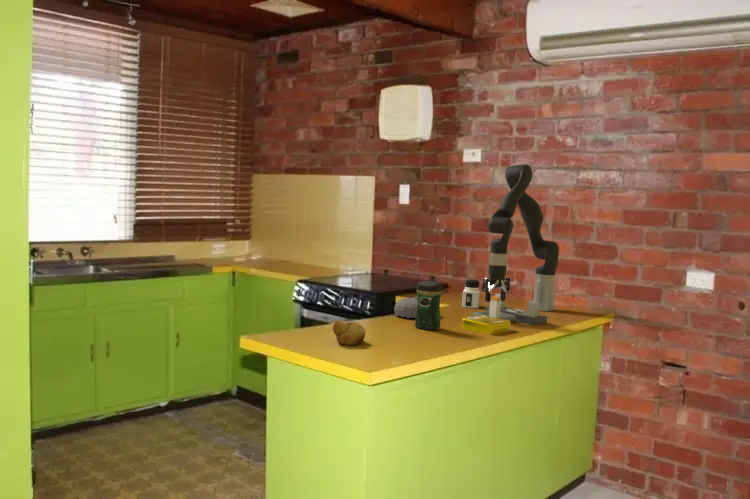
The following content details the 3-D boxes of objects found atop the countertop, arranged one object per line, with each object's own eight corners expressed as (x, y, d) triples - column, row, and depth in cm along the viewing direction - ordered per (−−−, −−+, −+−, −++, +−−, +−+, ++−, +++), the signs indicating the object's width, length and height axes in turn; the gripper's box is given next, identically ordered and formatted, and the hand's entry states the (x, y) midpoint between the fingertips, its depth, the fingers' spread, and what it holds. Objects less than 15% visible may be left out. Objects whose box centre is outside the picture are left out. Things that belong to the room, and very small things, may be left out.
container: (478, 308, 325) (480, 281, 324) (461, 307, 327) (463, 279, 326) (479, 306, 333) (481, 279, 332) (463, 304, 334) (464, 278, 333)
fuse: (530, 321, 299) (532, 300, 298) (537, 323, 296) (539, 302, 295) (526, 321, 298) (528, 301, 297) (533, 323, 294) (535, 302, 294)
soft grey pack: (407, 310, 309) (386, 316, 292) (408, 292, 309) (387, 297, 291) (438, 315, 302) (419, 321, 285) (439, 296, 301) (420, 301, 284)
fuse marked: (492, 316, 300) (494, 296, 299) (499, 318, 296) (501, 297, 296) (488, 317, 298) (490, 296, 297) (495, 318, 295) (497, 297, 294)
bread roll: (348, 337, 247) (349, 315, 246) (372, 341, 242) (373, 319, 242) (329, 343, 236) (330, 320, 235) (354, 348, 231) (355, 324, 230)
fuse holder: (499, 312, 319) (500, 304, 319) (546, 323, 296) (547, 315, 296) (485, 313, 314) (486, 305, 313) (532, 324, 291) (532, 316, 290)
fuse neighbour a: (497, 313, 315) (499, 293, 315) (504, 314, 312) (505, 295, 311) (493, 313, 314) (495, 293, 313) (500, 315, 311) (501, 295, 310)
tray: (494, 316, 306) (494, 310, 306) (515, 321, 296) (516, 316, 296) (472, 318, 299) (472, 312, 299) (493, 323, 288) (494, 317, 288)
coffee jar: (442, 328, 272) (445, 281, 271) (434, 331, 266) (437, 283, 264) (420, 324, 277) (423, 279, 276) (411, 327, 270) (414, 280, 269)
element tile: (490, 336, 265) (491, 323, 265) (459, 329, 275) (460, 317, 275) (512, 331, 276) (513, 319, 276) (481, 325, 286) (481, 313, 286)
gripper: (503, 262, 302) (500, 299, 304) (479, 263, 294) (476, 300, 296) (516, 264, 296) (513, 302, 298) (491, 265, 288) (489, 303, 290)
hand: (495, 301), depth 297 cm, fingers open, 8 cm apart
